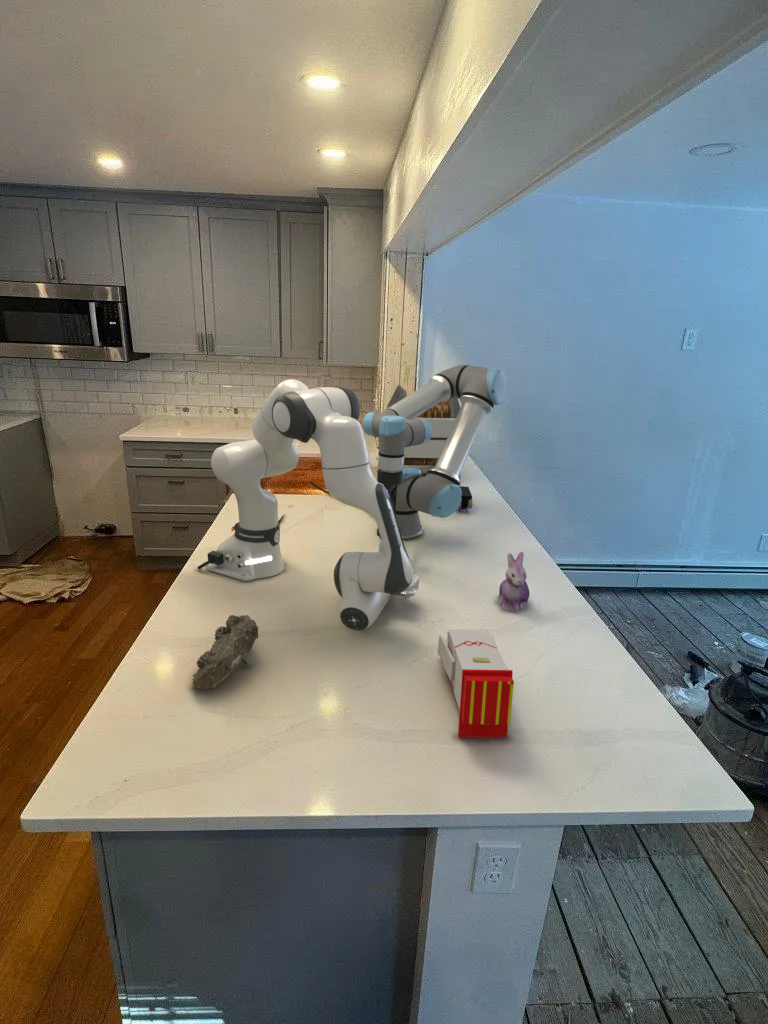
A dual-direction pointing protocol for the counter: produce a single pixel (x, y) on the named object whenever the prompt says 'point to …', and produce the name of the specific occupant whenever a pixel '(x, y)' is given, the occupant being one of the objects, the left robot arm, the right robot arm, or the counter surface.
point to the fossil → (226, 651)
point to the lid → (378, 532)
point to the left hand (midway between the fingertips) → (388, 568)
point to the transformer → (441, 425)
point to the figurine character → (465, 499)
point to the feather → (281, 519)
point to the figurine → (514, 585)
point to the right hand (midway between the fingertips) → (386, 542)
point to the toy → (478, 682)
